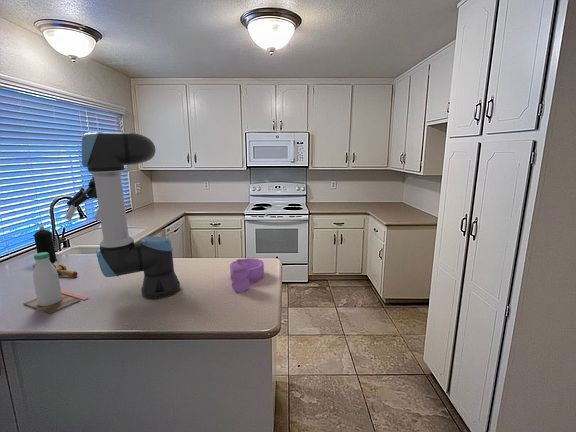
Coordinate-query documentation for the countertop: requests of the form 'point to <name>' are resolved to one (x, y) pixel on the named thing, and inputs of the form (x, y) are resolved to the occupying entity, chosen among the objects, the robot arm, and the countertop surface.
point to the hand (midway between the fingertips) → (81, 219)
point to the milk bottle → (46, 281)
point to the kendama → (65, 271)
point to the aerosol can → (45, 243)
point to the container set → (246, 273)
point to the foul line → (74, 295)
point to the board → (50, 309)
